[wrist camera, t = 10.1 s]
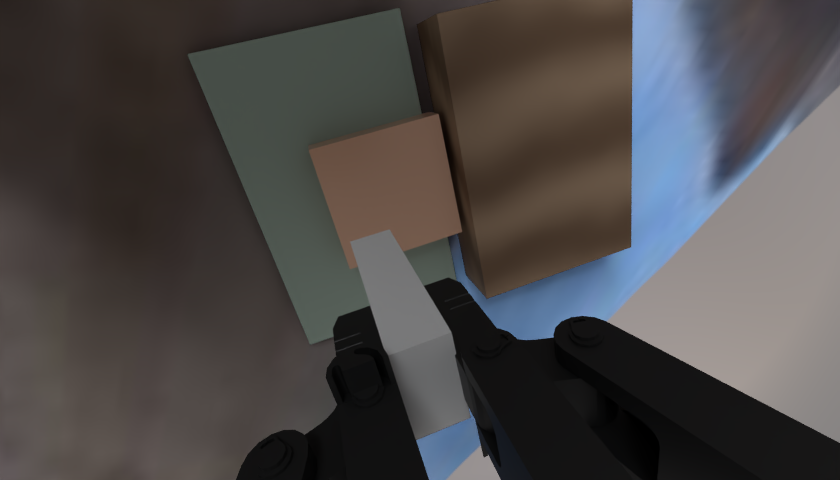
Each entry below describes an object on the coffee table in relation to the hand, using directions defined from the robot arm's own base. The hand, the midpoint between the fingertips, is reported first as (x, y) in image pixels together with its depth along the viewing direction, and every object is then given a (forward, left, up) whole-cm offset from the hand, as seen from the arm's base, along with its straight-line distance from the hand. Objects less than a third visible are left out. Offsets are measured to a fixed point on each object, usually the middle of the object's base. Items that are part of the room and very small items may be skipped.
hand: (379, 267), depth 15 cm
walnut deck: (+1, +13, -13) cm, 18 cm away
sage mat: (+1, 0, -13) cm, 13 cm away
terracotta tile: (+1, +3, -12) cm, 13 cm away
